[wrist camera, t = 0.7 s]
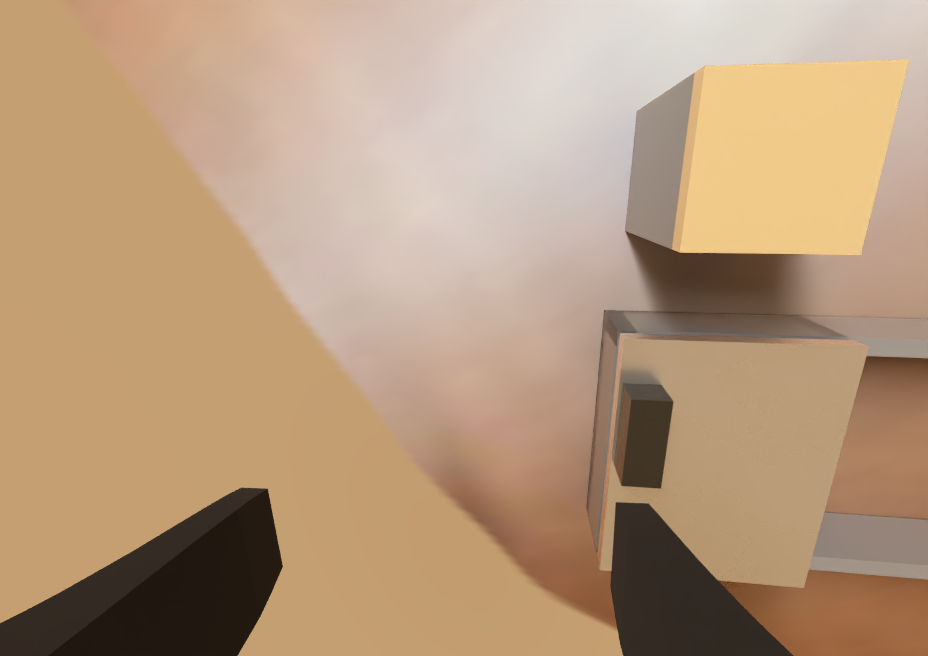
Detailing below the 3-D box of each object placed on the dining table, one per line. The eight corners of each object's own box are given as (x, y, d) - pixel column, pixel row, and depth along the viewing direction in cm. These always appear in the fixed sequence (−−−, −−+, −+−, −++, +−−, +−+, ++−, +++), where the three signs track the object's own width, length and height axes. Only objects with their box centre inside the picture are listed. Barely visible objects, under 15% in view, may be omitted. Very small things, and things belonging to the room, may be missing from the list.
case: (1063, 322, 16) (1164, 347, 13) (978, 536, 18) (1049, 589, 16) (604, 310, 18) (618, 330, 15) (586, 507, 20) (595, 551, 18)
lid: (854, 340, 14) (901, 360, 12) (793, 574, 17) (825, 618, 15) (620, 332, 15) (633, 351, 13) (597, 557, 17) (605, 597, 16)
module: (762, 108, 15) (909, 59, 9) (741, 231, 16) (860, 254, 11) (636, 111, 16) (704, 65, 10) (625, 231, 17) (679, 252, 11)
